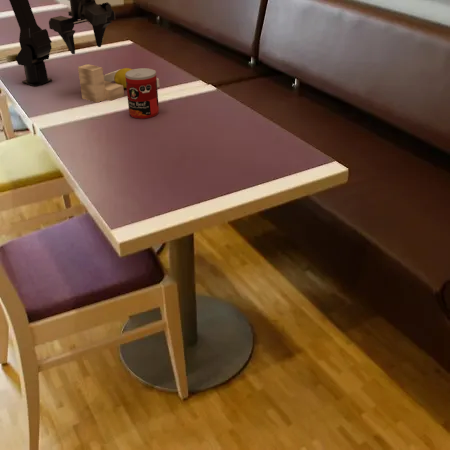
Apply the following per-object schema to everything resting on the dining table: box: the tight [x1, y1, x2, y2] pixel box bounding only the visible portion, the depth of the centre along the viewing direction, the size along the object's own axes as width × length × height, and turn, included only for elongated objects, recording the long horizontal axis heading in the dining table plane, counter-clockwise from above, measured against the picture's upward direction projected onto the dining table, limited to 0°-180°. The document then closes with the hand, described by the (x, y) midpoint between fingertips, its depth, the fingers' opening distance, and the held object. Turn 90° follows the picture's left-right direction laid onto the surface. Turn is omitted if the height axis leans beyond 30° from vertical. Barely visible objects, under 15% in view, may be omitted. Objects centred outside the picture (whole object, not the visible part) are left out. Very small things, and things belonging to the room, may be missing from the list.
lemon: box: [113, 67, 133, 89], centre depth 179 cm, size 6×6×8 cm
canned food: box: [125, 67, 160, 120], centre depth 159 cm, size 8×8×11 cm
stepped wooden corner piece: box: [77, 63, 125, 104], centre depth 172 cm, size 10×8×9 cm
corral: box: [103, 69, 160, 89], centre depth 180 cm, size 16×12×2 cm
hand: (86, 50), depth 172 cm, fingers open, 9 cm apart
